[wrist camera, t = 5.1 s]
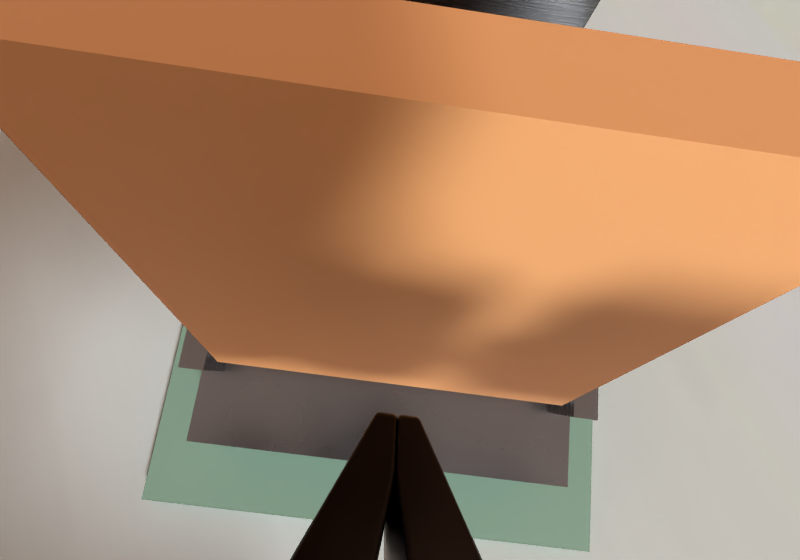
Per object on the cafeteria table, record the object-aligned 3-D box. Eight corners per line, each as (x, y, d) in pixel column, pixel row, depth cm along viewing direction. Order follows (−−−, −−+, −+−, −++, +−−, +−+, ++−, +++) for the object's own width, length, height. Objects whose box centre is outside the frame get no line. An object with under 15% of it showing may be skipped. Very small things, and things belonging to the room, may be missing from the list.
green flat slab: (581, 545, 16) (589, 551, 16) (150, 494, 16) (141, 499, 15) (594, 47, 21) (601, 38, 21) (266, -3, 21) (263, -14, 20)
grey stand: (538, 471, 16) (804, 619, 6) (214, 431, 16) (-55, 520, 6) (557, 75, 20) (740, -226, 10) (297, 36, 20) (220, -316, 10)
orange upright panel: (546, 413, 14) (995, 186, 4) (228, 373, 14) (-98, 23, 4) (543, 367, 15) (922, 80, 5) (241, 328, 14) (-3, -64, 4)
